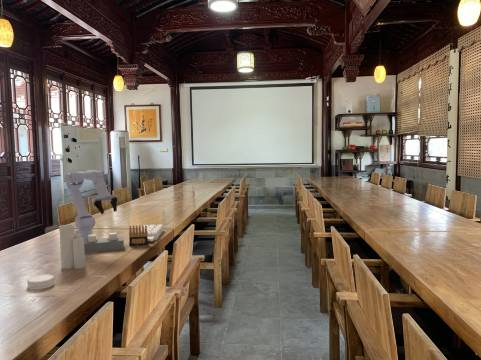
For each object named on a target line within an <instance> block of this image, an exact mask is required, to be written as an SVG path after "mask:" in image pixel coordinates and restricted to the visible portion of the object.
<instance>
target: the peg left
mask: <svg viewBox="0 0 481 360" xmlns="http://www.w3.org/2000/svg"><path fill="white" fill-rule="evenodd" d="M96 239H97V234H96V233H95V234H91V235H88V243H89V242H96Z"/></svg>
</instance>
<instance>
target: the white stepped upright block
mask: <svg viewBox="0 0 481 360" xmlns="http://www.w3.org/2000/svg"><path fill="white" fill-rule="evenodd" d="M58 228H59V244H60V245H59V246H60V263H61V264H60V265H61V269H62V270H69V269H70V270H71V269H75V270H80V269H85V268H86V256H85V255H86V253H85V251H84V238H81V234H79V233H78V234H76V231H75V225H74V224H61V225H59V227H58Z"/></svg>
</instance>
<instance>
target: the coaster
mask: <svg viewBox="0 0 481 360" xmlns="http://www.w3.org/2000/svg"><path fill="white" fill-rule="evenodd" d="M26 283H27V284H26V285H27V289H29V290H32V291H36V290H38V291H39V290H45V289H48V288H51V287H52V286H54V285H55V275H53V274H47V273H45V274H37V275H34V276H31V277H30V278H28V279H27V281H26Z"/></svg>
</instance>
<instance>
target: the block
mask: <svg viewBox="0 0 481 360" xmlns="http://www.w3.org/2000/svg"><path fill="white" fill-rule="evenodd" d="M124 245H125V244H124V237H123V236H117V240H111V241H109V237H105V238H96V242H89V243H88V240H84V251H85V254H90V253H98V252H101V253H102V252H109V251H110V250H111V251H120V249H121V250H124V249H125V246H124Z"/></svg>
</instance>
